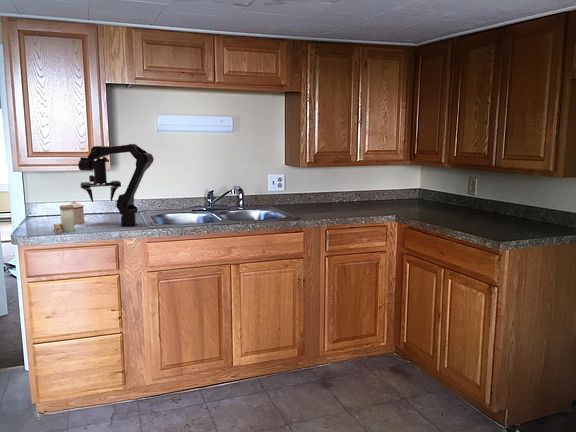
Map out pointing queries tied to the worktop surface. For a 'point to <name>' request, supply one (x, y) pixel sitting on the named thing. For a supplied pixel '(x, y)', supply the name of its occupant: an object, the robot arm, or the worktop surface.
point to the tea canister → (67, 218)
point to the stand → (58, 228)
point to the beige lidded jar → (78, 212)
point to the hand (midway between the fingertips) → (101, 201)
